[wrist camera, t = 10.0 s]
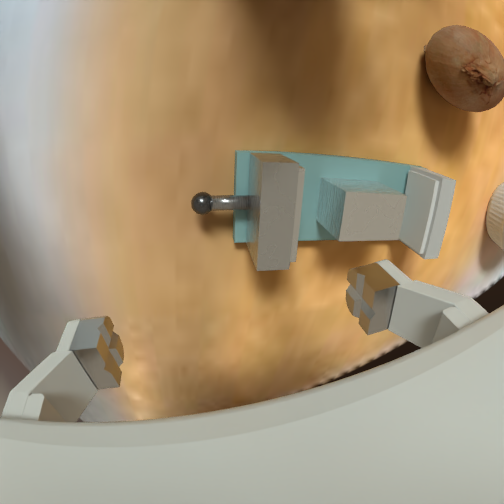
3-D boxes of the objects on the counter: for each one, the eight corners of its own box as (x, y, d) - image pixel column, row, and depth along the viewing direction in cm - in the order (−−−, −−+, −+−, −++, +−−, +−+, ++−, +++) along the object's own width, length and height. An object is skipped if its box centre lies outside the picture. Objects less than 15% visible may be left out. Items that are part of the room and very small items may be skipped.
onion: (410, 89, 27) (442, 115, 20) (413, 15, 21) (449, 15, 14) (476, 104, 25) (518, 136, 18) (483, 36, 19) (531, 49, 12)
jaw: (192, 244, 26) (192, 273, 22) (191, 152, 23) (189, 162, 18) (279, 242, 28) (296, 268, 23) (286, 153, 24) (307, 163, 20)
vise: (232, 237, 28) (242, 269, 23) (235, 150, 25) (246, 160, 19) (407, 234, 32) (440, 257, 26) (420, 166, 28) (459, 181, 23)
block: (316, 219, 27) (338, 241, 23) (320, 177, 26) (346, 191, 21) (370, 220, 28) (398, 239, 24) (376, 181, 27) (407, 195, 22)
